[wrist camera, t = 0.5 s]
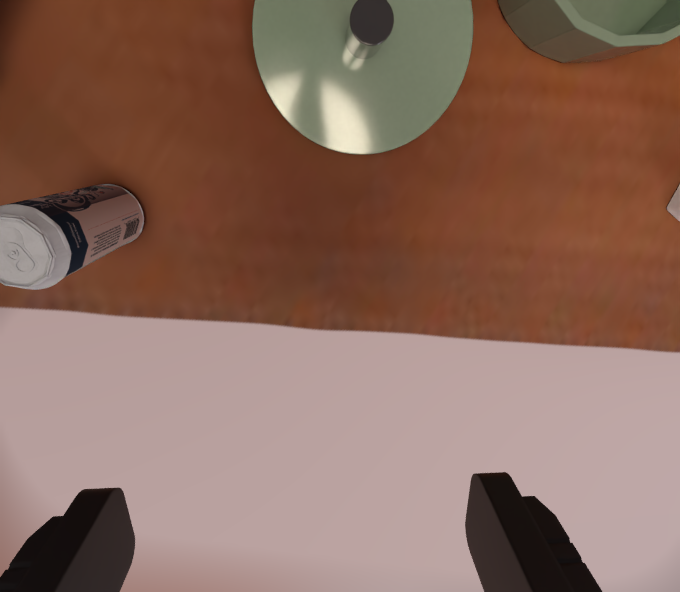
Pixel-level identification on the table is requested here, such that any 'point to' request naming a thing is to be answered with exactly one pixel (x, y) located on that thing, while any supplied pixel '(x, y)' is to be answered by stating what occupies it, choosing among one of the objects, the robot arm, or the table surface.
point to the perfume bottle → (675, 205)
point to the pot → (591, 26)
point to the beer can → (64, 233)
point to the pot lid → (362, 66)
